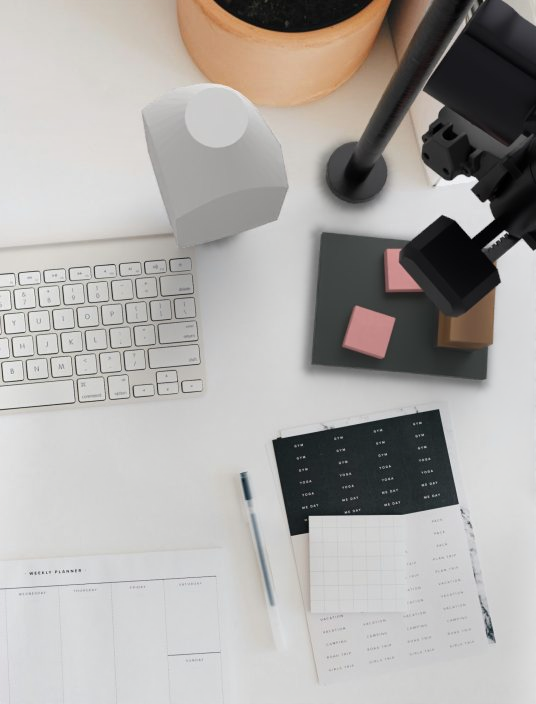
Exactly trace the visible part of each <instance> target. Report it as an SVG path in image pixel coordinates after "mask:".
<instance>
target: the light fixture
mask: <svg viewBox="0 0 536 704" xmlns="http://www.w3.org/2000/svg"><path fill="white" fill-rule="evenodd" d="M140 112H141V117H142V118H141V119H142V123H143V131H144V136H145V143H146V149H147V154H148V157H149V160H150V164H151V167H152V170H153V174H154V178H155V181H156V183H157V184H156V185H157V187H158V190H159V193H160V196H161V200H162V203H163V206H164V209H165V212H166V215H167V218H168V222H169V225H170V228H171V230H172V234H173V237H174V240H175V243H176V246H177V248H178V249H184V248H188V247H194V246H198V245H202V244H206V243H210V242H214V241H218V240H221V239H224V238H228V237H232V236H234V235H235V236H236V235H238V234H241V233H244V232H247V231H250V230H253V229H257V228H259V227H262V226H265V225H268V224H271V223H273V222H275V221H278V220H279V217H280V214H281V211H282V207H283V205H284V202H285V200H286V196H287V193H288V190H289V187H290V186H289V180H288V175H287V169H286V162H285V159H284V158H285V157H284V153H283V149H282V144H281V143H280V141H279V140H278V138H277V136H276V135H275V133H274V132H273V130H272V128H271V127H270V126H269V124H268V123H267V121H266V120H265V118H264V117H263V115H262V114H261V112H260V111H259V109H258V108H257V107H256V105H254V104H253V103H252V102H251V101H250V100H249V99H248V98H247V97H246V96H245V95H244V94H242V92H240V91H238V90H236V89H234V88H232V87H231V86H227V85H224V84H220V83H207V82H205V83H196V84H189V85H184V86H180V87H176V88H175V87H174V88H172V89H171V90H169V91H167V92H165V93H164V94H162V95H161V96H158V97H157V98H156V99H154V100H153V101H152V102H150V103H149V104H147V105H146V106H145V107H143V108H142V109H141V110H140Z"/></svg>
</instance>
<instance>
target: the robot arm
mask: <svg viewBox="0 0 536 704" xmlns="http://www.w3.org/2000/svg"><path fill="white" fill-rule="evenodd" d="M421 91H422V92H424V93H425V94H427V95H428V96H430V97H431V98H433V99H434V100H436V101H437V102H439V103H440V104H442V105H443V107H441V109H439V111H438V115H437V118H436V119H435V120H433V121H432V122H431V123H430V124H429V125H428V130H427V131H425V132H424V134H422V135H421V141H422V146H421V157H420V158H421V160H422V162H423V163H424V165H425V166H426V167H428V168H429V169H431V170H432V171H433V172H434V173H435V174H437V175H438V176H439V177H440V178H442V179H443V180H444V181H448V182H451V181H453V180H454V179H456V178H457V177H458V176H461V175H463V176H464V177H466V178H471V177H472V178H475V179H476V180H477V182H476V183H475V184H474V185H473V186H472V187H471V188H470V191H471V193H473V195H474V196H475V197H476V198H477V199H478V200H479V202H481V203H483V204H484V203H486V202H487V201H488V202H489V209H490V212H491V214H492V217H493V220H491V222H489V224H487V225H486V226H484V228H482V229H481V230H480V231H478V232H477V234H475V235H474V236H473V237H470V236H469V234H468V233H467V232H466V230H464V229H463V227H462V226H461V225H460V224H459V223H458V222H457V221H456V219H453V218H450V217H449V216H447V215H444V214H441V215H440V216H439V217H437V218H436V219H435V220H434V221H433V222H431V223H430V224H429V225H428V226H427V227H426V228H424V229H423V230H422V231H420V232H419V233H418V234H417V235H416V236H415V237H413V238H412V239H411V240H409V241H410V242H409V243H407V244H406V245H405V246H404V247H403V248H402V249H401V251H400V252H399V264H400V265H401V266H402V267H403V268H404V269H405V270H406V272H407V273H408V274H409V275H410V276H411V277H412V279H413V280H414V281H415V282H416V283H417V284H418V285H419V287H420V288H421V289H422V290H423V291H424V292H425V294H426V295H427V296H428V297H429V298H430V299H431V300H432V302H433V303H434V304H435V305H436V306H437V307H438V309H439V310H440V311H441V312H442V313H443V314H444V316H445V317H454V318H457V317H459V316H461V315H462V314H464V313H466V312H467V311H468V310H469V309H471V308H472V307H473V306H474V305H475V304H477V303H478V302H479V301H480V300H481V299H482V298H484V297H485V296H486V295H487V294H488V293H489V292H491V291H492V290H493V289H494V288H495V289H496V287H498V286H499V285H500V284H501V283H502V281H501V280H502V279H501V276H500V273H499V269H498V267H497V265H496V266H495V265H494V264H493V263H494V262H495V261H496V260H497V261H498V260H499V259H500V258H502V256H503V255H505V254H506V253H507V252H508V251H510V250H511V249H512V248H513V247H514V246H515V245H517V243H519V242H521V240H522V241H524V242H525V243H526V245H527V246H528V248H530V250H532V252H535V251H536V25H535V24H533V23H532V22H530V21H529V20H527V19H526V18H524V16H522V15H521V14H520V13H519V12H518V11H516V9H515V8H514V7H512V6H511V5H510V4H508V3H507V2H505V1H504V0H484V1H483V2H480V4H479V5H478V7H477V8H476V10H475V11H474V12H473V14H472V15H471V17H470V18H469V20H468V21H467V23H466V24H465V25H464V27H463V28H462V30H461V32H459V34H458V36H457V37H456V39H454V42H453V43H452V44H451V46H450V47H449V49H448V50H447V52H445V54H444V56H442V59H440V62H438V64H437V65H436V67H435V68H434V70H433V71H432V73H431V75H430V76H429V78H428V79H427V81H426V83H425V84H424V86H423V88H422V89H421ZM503 232H506V233H504V234H503V236H501V237H500V238H499V239H498V240H496V241H495V243H493V244H491V245H490V246H489V247H488V251H484V252H482V249H483V248H486V246H488V245H489V244H490V243H491V242H493V241H494V240H495V239H496V238H497V237H499V236H500V235H501V234H502V233H503Z"/></svg>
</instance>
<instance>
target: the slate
mask: <svg viewBox="0 0 536 704" xmlns="http://www.w3.org/2000/svg"><path fill="white" fill-rule="evenodd" d="M319 238H320V240H319V254H318V265H317V266H318V267H317V281H316V295H315V307H314V320H313V321H314V323H313V332H312V333H313V334H312V335H313V336H312V349H311V361H310V364H311V365H313V366H324V367H332V368H333V367H334V368H344V369H355V370H356V369H357V370H367V371H376V372H377V371H378V372H387V373H388V372H390V373H400V374H409V375H410V374H411V375H421V376H431V377H433V376H434V377H443V378H453V379H455V378H456V379H465V380H467V379H468V380H477V381H484V380H487V377H488V356H489V346H487V347H484V348H482V349H479V350H477V351H474V352H465V351H455V350H444V349H433V348H432V347H433V329H434V311H435V304H434V303H433V302H432V300H431V299H430V298H429V297H428V296H427V295H426V294H425V292H386V286H385V265H384V252H385V251H386V250H387V249H402V248H403V247H404V246H405V245H406V244H407V243H409V242H410V241H411V240H405V239H397V238H389V237H388V238H387V237H376V236H367V235H356V234H345V233H336V232H326V231H322V232H321V234H320V237H319ZM488 248H489V247H488ZM488 248H487V247H484V248H483V249H482V252H484V251H488ZM355 306H359V307H362V308H365V309H368V310H371V311H375V312H378V313H381V314H384V315H387V316H390V317H393V318H395V322H394V325H393V329H392V332H391V336H390V339H389V343H388V346H387V350H386V353H385V357H384V358H382V359H379V358H376V357H373V356H370V355H366V354H363V353H360V352H357V351H354V350H351V349H348V348H344V347H342V344H343V341H344V338H345V334H346V331H347V328H348V324H349V321H350V318H351V314H352V311H353V308H354V307H355Z"/></svg>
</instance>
